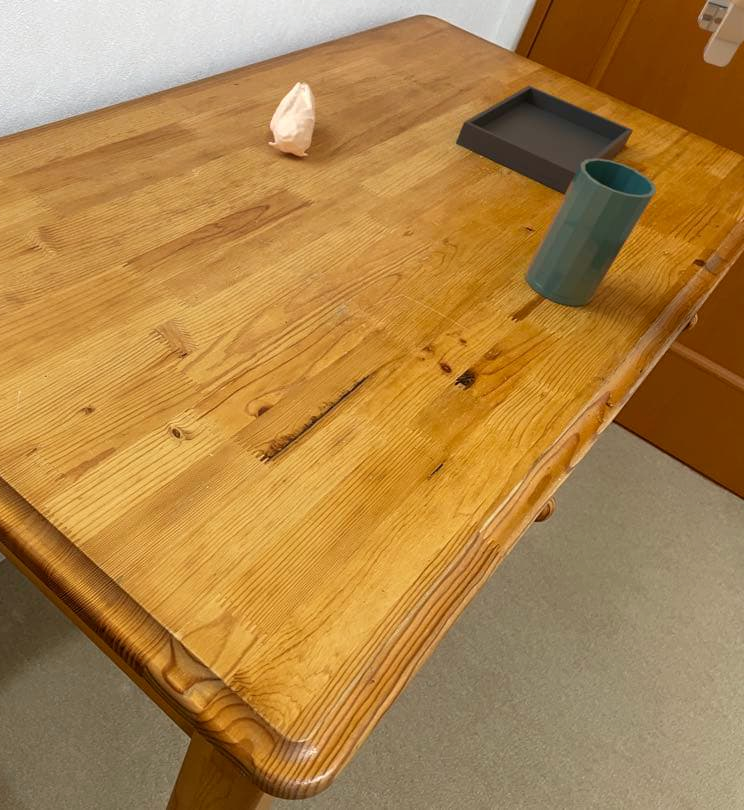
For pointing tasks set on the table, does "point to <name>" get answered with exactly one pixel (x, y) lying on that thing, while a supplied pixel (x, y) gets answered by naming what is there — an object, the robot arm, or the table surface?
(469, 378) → the table surface
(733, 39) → the robot arm
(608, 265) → the cup
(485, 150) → the tray
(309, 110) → the white crumpled piece
